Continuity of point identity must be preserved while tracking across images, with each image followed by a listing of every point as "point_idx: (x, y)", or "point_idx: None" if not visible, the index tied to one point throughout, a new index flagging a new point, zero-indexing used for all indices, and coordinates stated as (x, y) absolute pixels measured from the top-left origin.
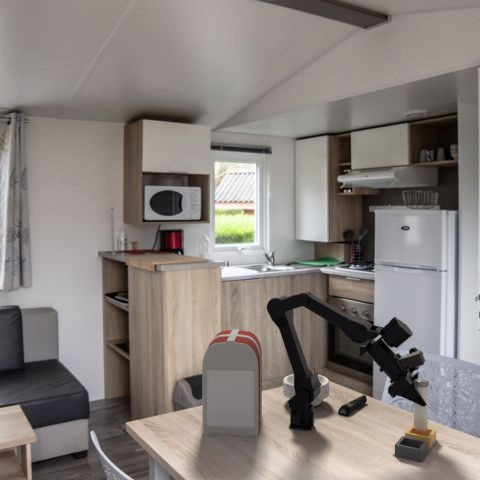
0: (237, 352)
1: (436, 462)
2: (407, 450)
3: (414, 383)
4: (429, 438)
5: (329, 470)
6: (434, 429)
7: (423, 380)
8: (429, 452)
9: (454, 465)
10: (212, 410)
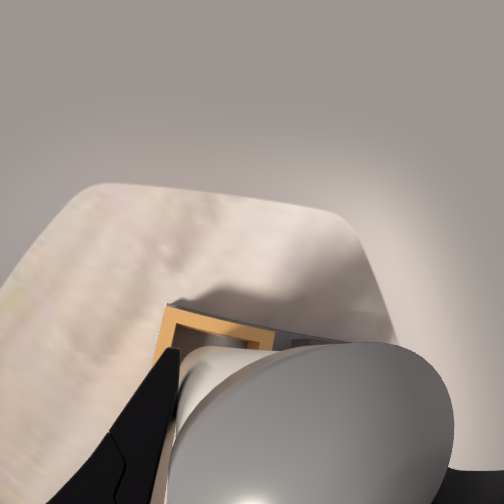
0: None
1: (318, 310)
2: None
3: (490, 482)
4: (273, 334)
5: None
6: (165, 313)
7: (285, 487)
8: (288, 333)
9: (317, 259)
10: None
